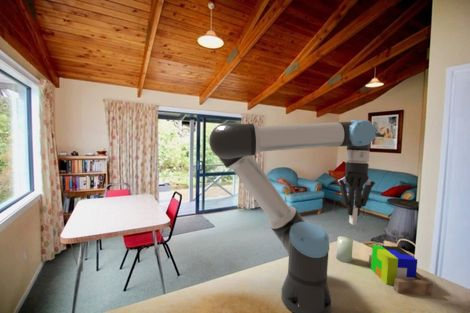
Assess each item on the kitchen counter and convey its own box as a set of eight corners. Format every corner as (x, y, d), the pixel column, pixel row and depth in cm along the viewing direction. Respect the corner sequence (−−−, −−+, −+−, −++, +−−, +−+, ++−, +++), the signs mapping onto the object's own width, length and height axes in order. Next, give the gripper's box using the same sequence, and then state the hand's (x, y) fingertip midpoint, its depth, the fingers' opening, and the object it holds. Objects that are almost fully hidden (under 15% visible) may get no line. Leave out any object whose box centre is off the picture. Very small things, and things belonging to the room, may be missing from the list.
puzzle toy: (415, 286, 79) (417, 259, 78) (386, 284, 79) (388, 258, 79) (396, 270, 89) (398, 246, 88) (370, 269, 89) (372, 245, 89)
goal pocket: (397, 293, 75) (398, 281, 74) (368, 264, 93) (369, 255, 92) (431, 295, 74) (432, 284, 74) (395, 265, 92) (396, 256, 92)
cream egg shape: (339, 262, 93) (341, 241, 93) (334, 255, 99) (335, 236, 99) (354, 263, 93) (355, 242, 92) (347, 256, 99) (349, 236, 98)
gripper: (343, 162, 78) (339, 226, 80) (381, 163, 78) (376, 228, 79) (335, 160, 86) (331, 219, 87) (369, 161, 85) (365, 221, 87)
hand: (352, 223), depth 83 cm, fingers closed
